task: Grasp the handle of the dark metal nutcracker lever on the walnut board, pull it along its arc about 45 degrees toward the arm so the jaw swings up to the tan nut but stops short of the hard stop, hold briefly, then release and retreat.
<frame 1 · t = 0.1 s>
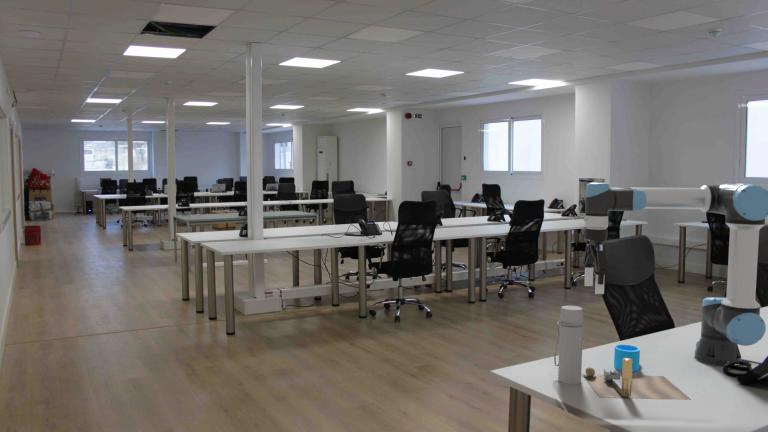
hand: (593, 289, 219), 28 cm above the table, fingers open, 13 cm apart
water bottle: (566, 383, 208), on the table
lever: (617, 368, 200), point 7 cm above the table, hinge at 0.0°
mug: (629, 370, 222), on the table
nutcracker base: (633, 389, 202), on the table
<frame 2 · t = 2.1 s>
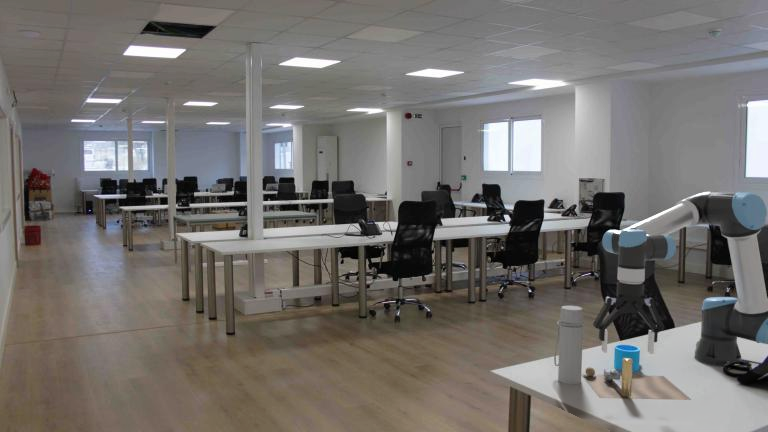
hand: (627, 352, 191), 15 cm above the table, fingers open, 13 cm apart
nothing on the table moved.
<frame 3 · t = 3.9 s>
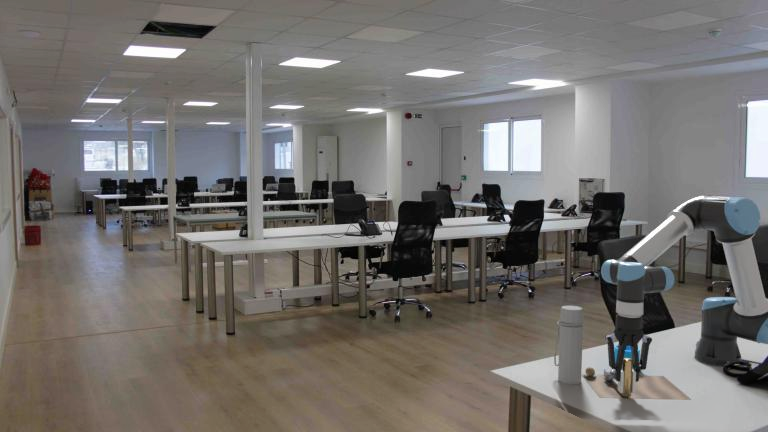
hand: (626, 391, 192), 3 cm above the table, fingers closed on lever, 3 cm apart
lever: (617, 368, 200), point 7 cm above the table, hinge at 0.0°, touching gripper
everything else where it was.
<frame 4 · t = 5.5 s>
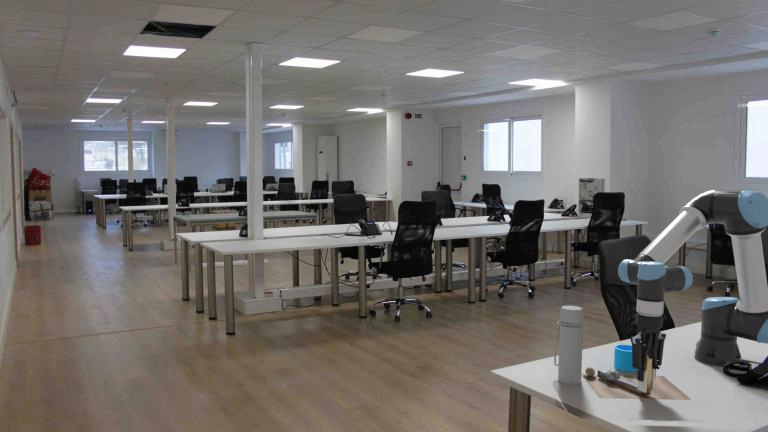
hand: (645, 389, 193), 3 cm above the table, fingers closed on lever, 3 cm apart
lever: (624, 368, 200), point 7 cm above the table, hinge at 29.6°, touching gripper
everything else where it was.
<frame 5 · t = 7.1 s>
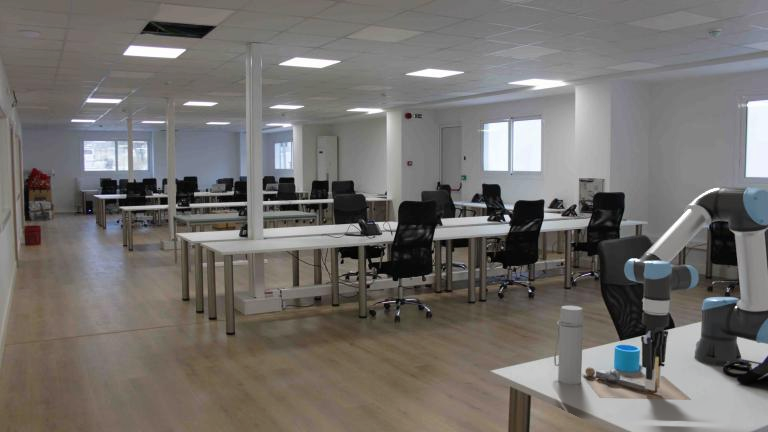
hand: (652, 387, 195), 3 cm above the table, fingers closed on lever, 3 cm apart
lever: (626, 367, 201), point 7 cm above the table, hinge at 44.4°, touching gripper
everything else where it was.
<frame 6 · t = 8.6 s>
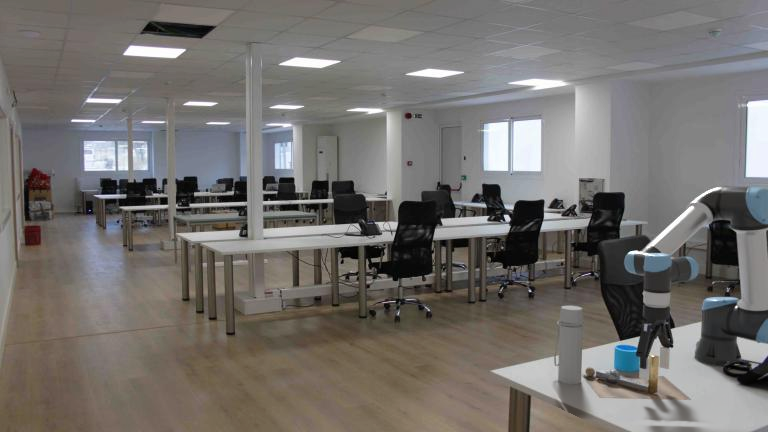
hand: (654, 373, 195), 7 cm above the table, fingers open, 13 cm apart
lever: (626, 367, 201), point 7 cm above the table, hinge at 44.5°
everything else where it was.
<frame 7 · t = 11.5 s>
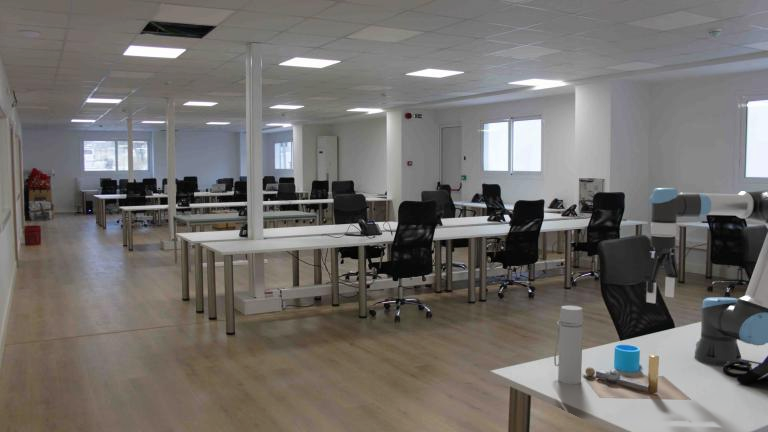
hand: (660, 299, 210), 27 cm above the table, fingers open, 13 cm apart
nothing on the table moved.
at the end: lever at +44° (first picture: +0°); the gripper is holding nothing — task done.
